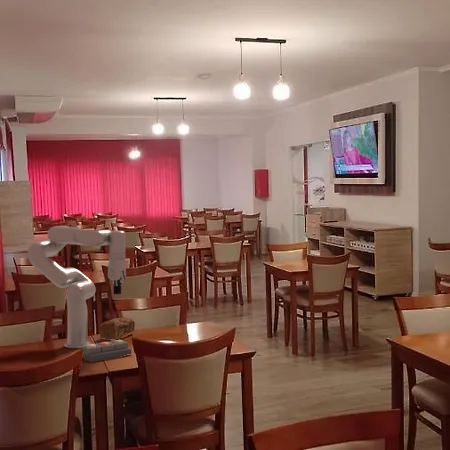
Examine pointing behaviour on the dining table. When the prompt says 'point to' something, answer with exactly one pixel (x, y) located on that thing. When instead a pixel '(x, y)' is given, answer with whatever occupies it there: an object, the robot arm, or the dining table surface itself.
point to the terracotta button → (104, 343)
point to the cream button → (91, 345)
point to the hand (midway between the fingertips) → (117, 293)
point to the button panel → (105, 351)
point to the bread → (116, 328)
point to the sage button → (118, 341)
